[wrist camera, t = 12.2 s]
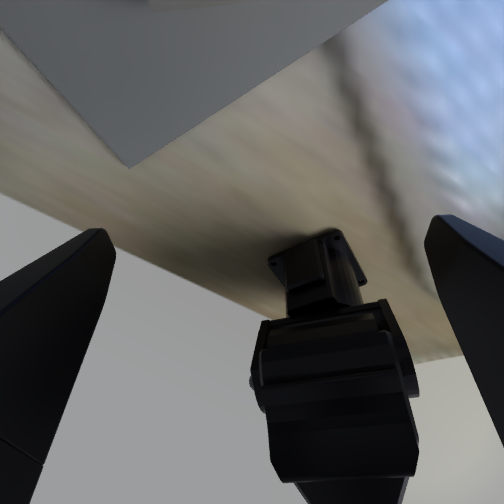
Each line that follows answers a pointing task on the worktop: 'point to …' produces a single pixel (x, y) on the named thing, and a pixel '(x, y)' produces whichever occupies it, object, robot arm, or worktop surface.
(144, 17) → the mat
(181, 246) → the worktop surface
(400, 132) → the worktop surface
